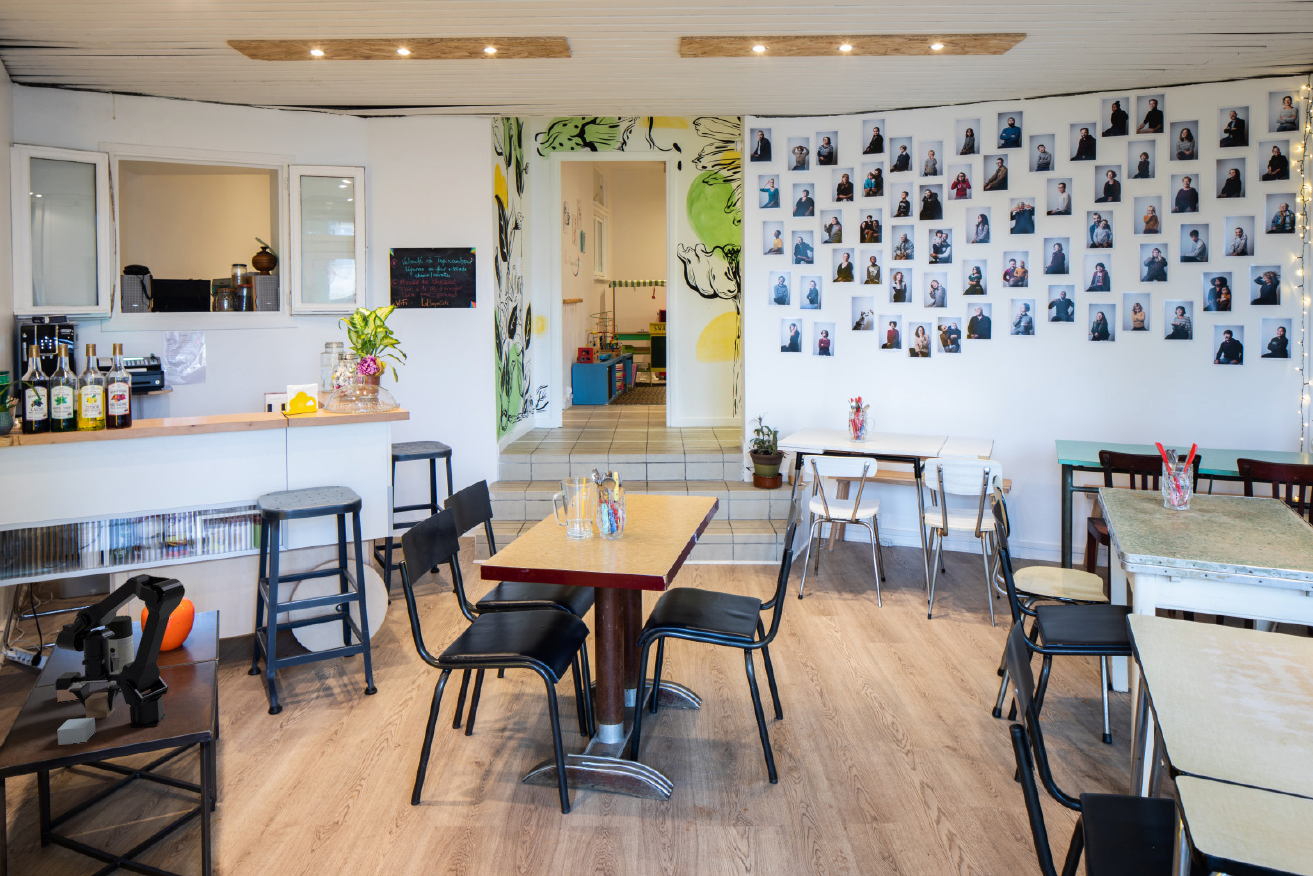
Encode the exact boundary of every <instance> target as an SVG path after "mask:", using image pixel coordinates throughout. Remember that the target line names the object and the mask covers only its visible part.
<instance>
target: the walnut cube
mask: <svg viewBox="0 0 1313 876" xmlns="http://www.w3.org/2000/svg"><path fill="white" fill-rule="evenodd" d="M84 708H85V709H84V710H85V718H96V719H107V718H109V716H111V715H112V714H113V713H114V712H115V711H116V705H114V708H113V710H112V711H110V709H109V702H108V691H107V692H92V694H90V696H89V697H88V698H87V699H86V700H85V707H84ZM114 710H115V711H114ZM113 711H114V712H113Z"/></svg>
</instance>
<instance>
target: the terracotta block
mask: <svg viewBox="0 0 1313 876" xmlns="http://www.w3.org/2000/svg"><path fill="white" fill-rule="evenodd" d="M69 690H70V688H69V689H67V690H56V693H57V694H56V696H57V703H58V702H59V701H65V700H74V701H76V700H75V699H78V698H77V697H76V696H75V695H74V694H73V693H72V692H71V693H70V692H69Z"/></svg>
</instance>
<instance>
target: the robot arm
mask: <svg viewBox="0 0 1313 876" xmlns="http://www.w3.org/2000/svg"><path fill="white" fill-rule="evenodd" d="M185 594H186V588H185V586H184V584H183V583H182V582H181V581H180V580H179V579H178V578H170V577H165V576H164V577H163V576H156V575H155V576H154V575H150V574H145V573H142V574H138V575H135V576H131V577H129V578H128V579H127V580H126V581H125V582H124V583H123V584H121V585H120V586H119V587H117V588H116V589H115V590H114V591H112V592H111V593H109V594H108V595H107V596H105V598H103V599H102V600H101V601H98V602H96V603H94V604H92V605H89V606H87V607H84V608H82V609H80V610H78V612H77V613H76V614H75V615H76V616H75V617H76V618H75V619H74V621H73V623H71V622H70V623H69V622H68V623H66V624H62V627H61V628H62V630H61V631H60V632H59V633H58V634H57V637H56V639H55V643H56V644H55V645H56V646H57V648H58V649H61V650H65V651H70V652H71V651H72V652H78V653H79V652H80V653H81V652H83V660H81V665H82V666H84V675H82V673H81V672H80V671H70V672H69V671H68V672H64V673H62V674H61V675H60V676H59V677H58V678H56V680H55V681H54V690H55V691H57V690H67V689H69V688H70V690H69V692H70V693H71V692H72V693H73V694H74V695H75V696H76V697H77V698H78V699H79V700H78V701H79V702H80V703H81V705H82V706H83V707H84V708H85V700H86V699H87V698H88V697H89V696H91V693H90V687H91V684H101V683H108V682H111V686H110V687H109V688H108V687H107V692H108V702H109V709H110V711H112V710H113V708H114V705H115V704H116V701H117V698H118V695H119V692H121V693H122V696H123V698H124V701H125V704H126V705H129V719H130V721H129V722H130V723H131V724H129V728H143V727H144V728H146V727H157V726H158V725H159V724H160V723H161V722H162V721H163V720H164V719H165V718H166V716H167V715H166V714H165V713H164V709H163V708H164V707H163V696H164V695H167V694H168V690H169V686H168V685H167V683H166V682H165V681H164V680H163V678H162V677H161V676H160V672H161V669H160V667H159V665H158V663H157V662H158V658H159V655H160V652H161V649H162V644H163V640H164V637H165V635H166V631H167V627H168V624H169V621H170V617H171V616H172V614H173V612H174V611H175V610H177V608H178V607H179V606H180V604H181V602H182V600H183V598H184V596H185ZM136 597H137V598H138V600H139V601H142V602H144V605H145V608H146V610H147V613H148V614H147V616H146V619H145V624H144V627H143V631H142V634H141V637H140V640H139V645H138V648H137V651H136V654H135V657H134V661H133V662H131V663H128V664H126V665H124V666H123V668H122V672H121V673H120V674H111V672H114V671H115V670H119V663H120V658H113V657H112V653H110V652H109V638H110V637H112V636H115V633H114V632H113V631H111V630H109V628H105V625H107V624H109V623H110V622H111V621H112V620H113V619H114V617H115V616H117V613H118V611H119V610H120V609H121V608H123V607H124V606H125V605H126V604H128V603H129V602H131V601H132V600H133V599H135V598H136ZM103 626H104V627H103ZM100 627H103V628H102V629H97V628H100ZM120 689H121V691H120ZM115 706H116V705H115ZM162 719H163V720H162Z"/></svg>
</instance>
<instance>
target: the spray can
mask: <svg viewBox="0 0 1313 876" xmlns="http://www.w3.org/2000/svg"><path fill="white" fill-rule="evenodd" d="M104 628H109V630H111V631H113V632H114V633H115V636H112V637H110V638H109V652H110V653H112V657H113V658H120V663H119V670H115V671H114V672H111V674H120V673H121V672H122V668H123V666H124V665H126V664H128V663H131V662H133V661H134V660H135V655H134V635H133V634H134V631H133V619H132V616H130V615H116V616H115V617H114V619H113V620H112V621H111V622H110V623H109V624H107V625H104ZM110 686H111V682H107V689H108V688H109V687H110ZM119 692H122V691H121V689H120V691H119Z"/></svg>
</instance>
